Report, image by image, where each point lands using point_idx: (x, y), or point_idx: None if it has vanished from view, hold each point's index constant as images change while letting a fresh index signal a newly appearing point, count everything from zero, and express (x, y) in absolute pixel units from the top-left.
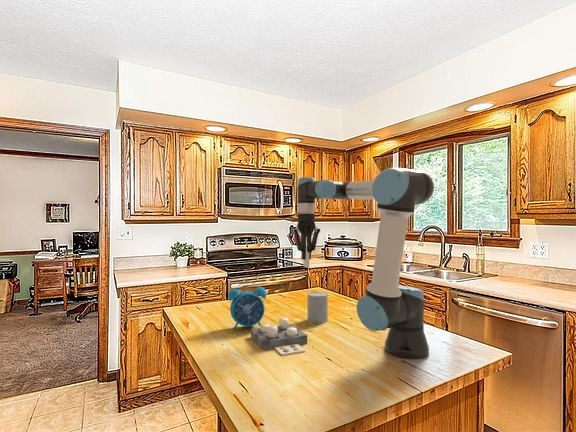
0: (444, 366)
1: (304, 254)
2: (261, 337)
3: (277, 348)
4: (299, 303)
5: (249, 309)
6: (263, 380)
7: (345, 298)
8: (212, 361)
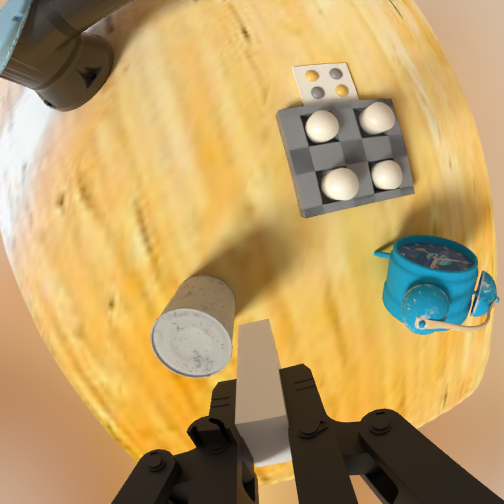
0: None
1: (301, 404)
2: (394, 126)
3: (353, 92)
4: None
5: (433, 258)
6: (370, 5)
7: (118, 439)
8: (451, 91)
